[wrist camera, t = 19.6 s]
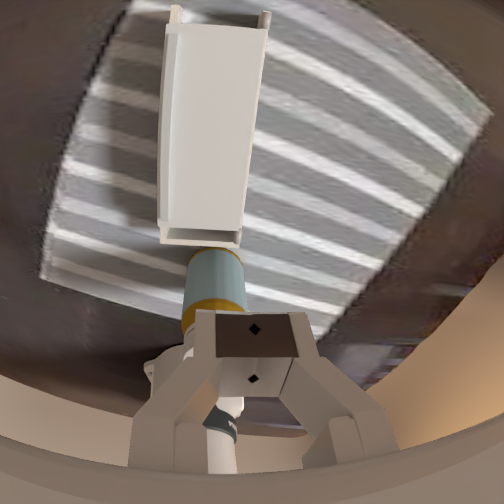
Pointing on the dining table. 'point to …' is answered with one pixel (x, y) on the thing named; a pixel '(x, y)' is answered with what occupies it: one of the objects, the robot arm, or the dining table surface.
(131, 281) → the dining table surface
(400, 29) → the dining table surface
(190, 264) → the bottle
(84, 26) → the dining table surface
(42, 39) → the dining table surface
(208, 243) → the white long shallow tray
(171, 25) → the cover
